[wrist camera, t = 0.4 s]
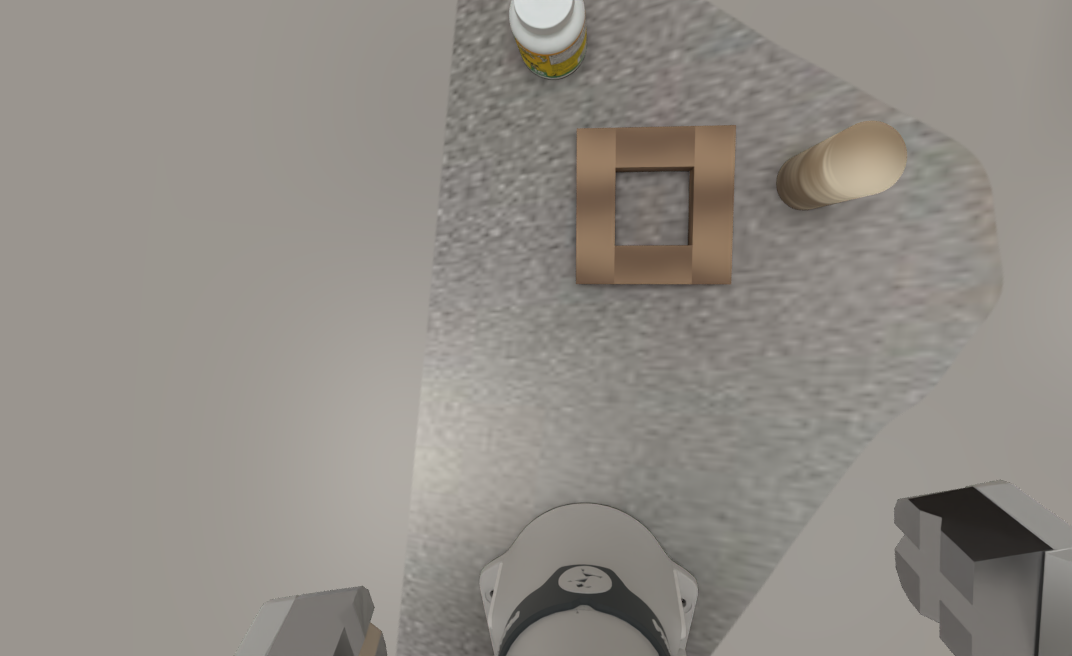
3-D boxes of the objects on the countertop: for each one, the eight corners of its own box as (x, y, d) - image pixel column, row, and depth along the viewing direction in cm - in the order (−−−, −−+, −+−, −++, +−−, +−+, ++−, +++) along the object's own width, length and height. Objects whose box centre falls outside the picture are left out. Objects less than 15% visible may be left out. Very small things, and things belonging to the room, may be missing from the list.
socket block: (724, 283, 52) (731, 284, 49) (577, 282, 53) (576, 283, 51) (729, 131, 51) (735, 125, 48) (577, 134, 52) (576, 128, 49)
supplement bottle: (598, 59, 51) (598, 13, 42) (539, 93, 52) (526, 55, 42) (567, -2, 51) (560, -62, 41) (508, 33, 52) (488, -19, 42)
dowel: (832, 210, 51) (904, 194, 39) (775, 210, 51) (829, 195, 39) (835, 153, 50) (909, 119, 38) (777, 154, 51) (832, 121, 39)
